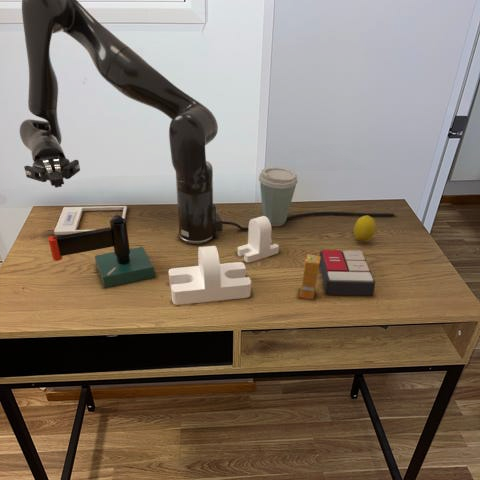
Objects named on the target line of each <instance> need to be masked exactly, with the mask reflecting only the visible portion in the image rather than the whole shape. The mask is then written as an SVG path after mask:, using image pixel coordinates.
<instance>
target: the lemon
mask: <svg viewBox="0 0 480 480" xmlns="http://www.w3.org/2000/svg"><path fill="white" fill-rule="evenodd" d="M376 228H377V227H376V221H375V219H374V218H373V217H372V216H369V215H366V216H365V215H361V216H359V218H358V219H357V220H356V222H355V224H354V227H353V234H354V237H355V239H357V241H359V242H360V243H365V242H368V241H370V240H372V238H374V235H375V232H376Z"/></svg>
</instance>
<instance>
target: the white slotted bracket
mask: <svg viewBox="0 0 480 480" xmlns="http://www.w3.org/2000/svg"><path fill="white" fill-rule="evenodd" d="M197 249H198V251H197V257H198V258H197V259H198V261H197V262H198V265H194V266H182V267H172V268H170V269H168V282H169V289H170V290H171V291H170V292H171V293H170V294H171V300H172V301H171V302H172V304H173V305H176V306H180V305H189V304H190V305H191V304H199V303H209V302H219V301H220V302H221V301H229V300H237V299H238V300H239V299H246V298H247V299H248V298H249V297H251V289H252V287H251V286H252V280H251V278H250V277H249V276H247V277H246V274H247V272H246V271H247V268H246V266H245V264H244V263H243V262H241V261H239V262H238V261H236V262H226V263H221V261H220V255H219V252H218V248H217V246H216V245H211V246H210V245H209V246H207V245H206V246H198V248H197Z"/></svg>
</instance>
